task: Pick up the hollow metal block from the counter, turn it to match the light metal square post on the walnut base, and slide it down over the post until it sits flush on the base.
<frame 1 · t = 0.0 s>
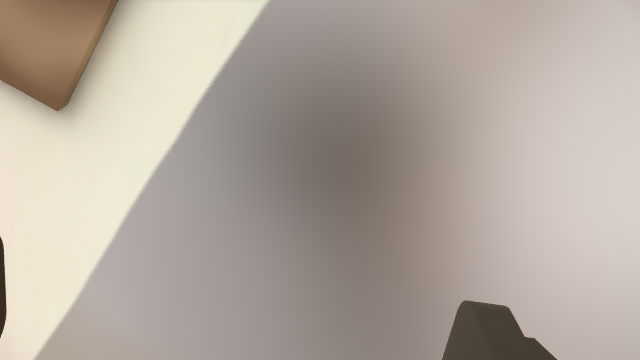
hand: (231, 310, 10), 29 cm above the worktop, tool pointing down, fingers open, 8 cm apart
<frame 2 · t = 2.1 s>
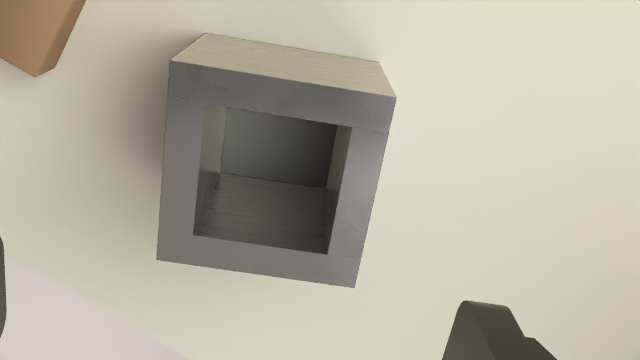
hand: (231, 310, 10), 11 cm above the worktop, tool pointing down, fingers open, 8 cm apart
hollow metal block: (280, 130, 21), on the worktop
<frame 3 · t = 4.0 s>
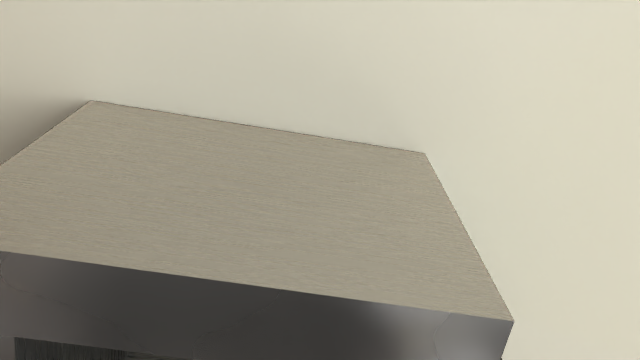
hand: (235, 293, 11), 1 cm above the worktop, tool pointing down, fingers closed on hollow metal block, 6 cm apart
hollow metal block: (241, 270, 11), on the worktop, touching gripper
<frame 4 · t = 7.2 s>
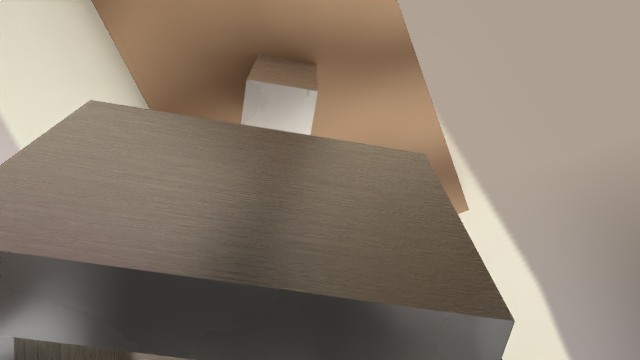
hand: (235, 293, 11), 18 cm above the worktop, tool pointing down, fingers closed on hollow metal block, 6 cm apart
square post: (280, 102, 24), on the walnut base, point 4 cm above the worktop
walnut base: (285, 81, 27), on the worktop
hollow metal block: (241, 270, 11), point 17 cm above the worktop, touching gripper
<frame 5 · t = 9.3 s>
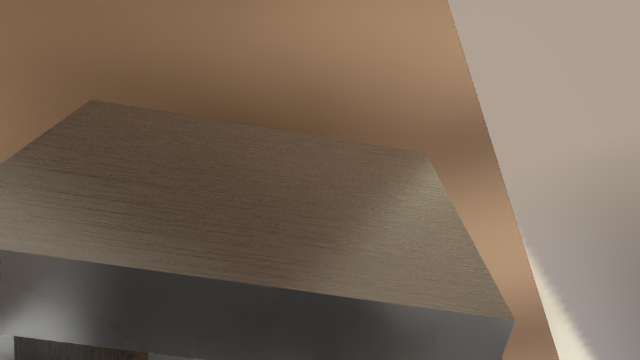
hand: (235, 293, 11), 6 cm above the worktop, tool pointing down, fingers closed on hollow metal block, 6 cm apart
walnut base: (259, 179, 16), on the worktop
hollow metal block: (241, 270, 11), point 5 cm above the worktop, touching gripper
when the fingers open (3 cm above the worktop, at t = 10.9 s): hollow metal block stays where it is, resting on walnut base.
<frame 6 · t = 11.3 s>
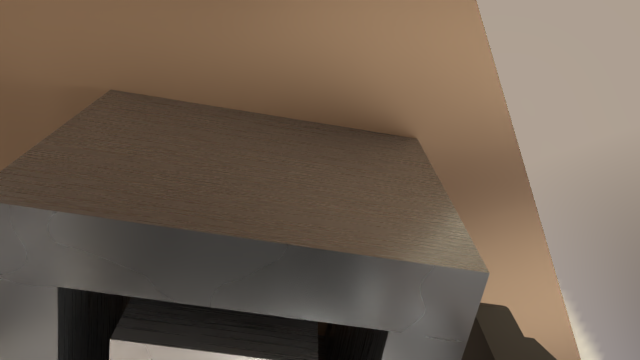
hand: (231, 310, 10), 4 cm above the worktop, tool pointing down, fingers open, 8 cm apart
square post: (231, 313, 10), on the walnut base, point 4 cm above the worktop
walnut base: (252, 215, 14), on the worktop
hollow metal block: (248, 248, 12), point 1 cm above the worktop, touching walnut base
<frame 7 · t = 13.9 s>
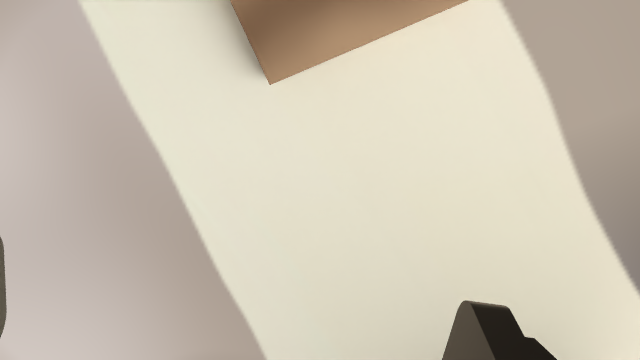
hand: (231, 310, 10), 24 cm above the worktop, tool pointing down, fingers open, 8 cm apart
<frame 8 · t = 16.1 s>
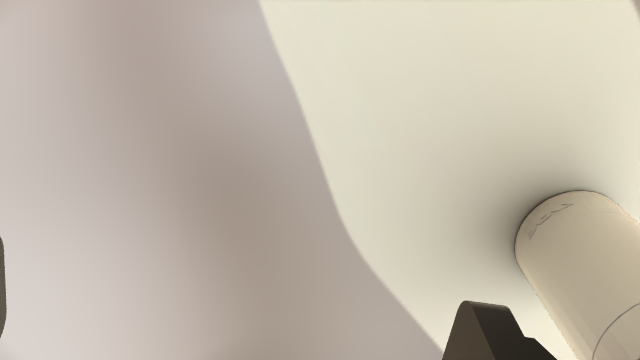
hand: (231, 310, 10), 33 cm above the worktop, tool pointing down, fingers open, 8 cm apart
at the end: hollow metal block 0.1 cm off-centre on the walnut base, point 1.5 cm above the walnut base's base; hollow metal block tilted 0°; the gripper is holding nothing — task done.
